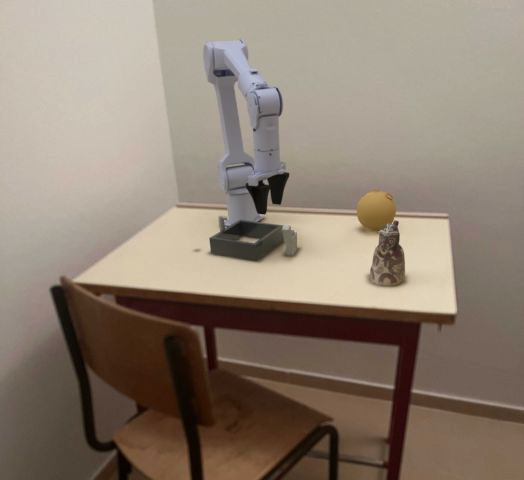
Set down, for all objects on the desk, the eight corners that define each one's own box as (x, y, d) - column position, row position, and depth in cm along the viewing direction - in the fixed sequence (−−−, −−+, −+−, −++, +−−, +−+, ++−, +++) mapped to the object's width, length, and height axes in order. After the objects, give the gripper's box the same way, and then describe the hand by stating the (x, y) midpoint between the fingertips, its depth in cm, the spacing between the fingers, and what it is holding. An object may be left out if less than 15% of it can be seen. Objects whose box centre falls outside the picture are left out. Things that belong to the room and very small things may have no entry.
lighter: (290, 248, 127) (289, 216, 122) (297, 249, 126) (296, 217, 122) (282, 259, 121) (281, 226, 117) (289, 260, 120) (288, 227, 116)
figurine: (362, 279, 110) (366, 224, 103) (382, 268, 114) (386, 215, 107) (391, 288, 105) (396, 232, 99) (410, 277, 109) (416, 222, 103)
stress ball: (395, 236, 130) (398, 196, 125) (355, 235, 131) (357, 196, 126) (393, 222, 138) (396, 185, 133) (355, 222, 140) (357, 185, 134)
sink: (235, 233, 138) (233, 207, 134) (284, 240, 131) (283, 213, 128) (205, 252, 127) (202, 224, 124) (256, 261, 121) (255, 232, 117)
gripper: (267, 157, 108) (269, 220, 115) (296, 142, 119) (297, 201, 126) (238, 155, 111) (242, 216, 118) (269, 141, 122) (272, 198, 129)
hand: (269, 208), depth 122 cm, fingers open, 7 cm apart
